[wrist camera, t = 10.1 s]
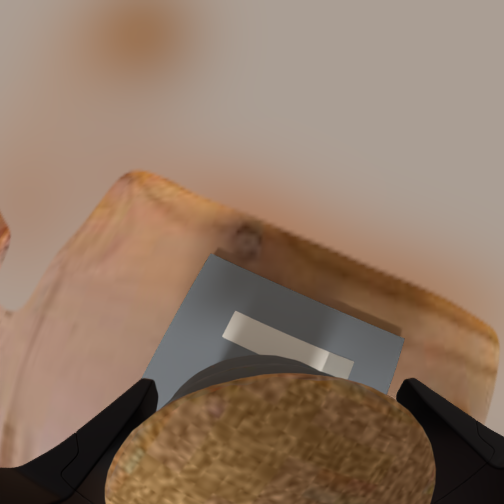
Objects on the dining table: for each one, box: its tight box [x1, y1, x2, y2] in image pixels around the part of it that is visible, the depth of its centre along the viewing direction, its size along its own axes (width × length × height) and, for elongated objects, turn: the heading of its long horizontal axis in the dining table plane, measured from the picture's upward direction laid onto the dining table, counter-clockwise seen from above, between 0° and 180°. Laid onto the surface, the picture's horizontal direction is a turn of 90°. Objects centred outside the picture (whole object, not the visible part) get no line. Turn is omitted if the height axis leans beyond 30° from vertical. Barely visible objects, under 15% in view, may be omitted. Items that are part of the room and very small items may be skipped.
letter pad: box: [141, 254, 404, 411], centre depth 16 cm, size 16×16×1 cm
